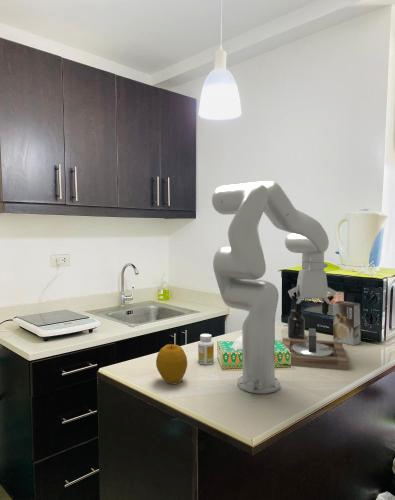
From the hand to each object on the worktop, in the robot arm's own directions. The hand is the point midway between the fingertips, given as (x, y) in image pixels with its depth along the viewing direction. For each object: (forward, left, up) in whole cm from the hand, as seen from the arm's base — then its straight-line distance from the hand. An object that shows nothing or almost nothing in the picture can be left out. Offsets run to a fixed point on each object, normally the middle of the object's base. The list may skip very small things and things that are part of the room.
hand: (311, 314), depth 137 cm
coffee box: (+23, -14, -16) cm, 31 cm away
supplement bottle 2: (+23, +6, -16) cm, 28 cm away
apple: (-33, +42, -16) cm, 56 cm away
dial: (+1, 0, -14) cm, 14 cm away
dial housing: (+1, 0, -16) cm, 16 cm away
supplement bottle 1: (-14, +36, -16) cm, 42 cm away
